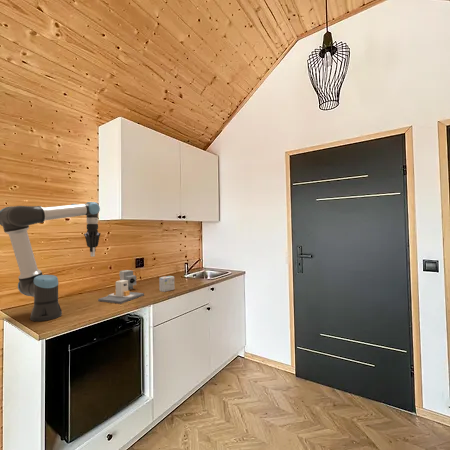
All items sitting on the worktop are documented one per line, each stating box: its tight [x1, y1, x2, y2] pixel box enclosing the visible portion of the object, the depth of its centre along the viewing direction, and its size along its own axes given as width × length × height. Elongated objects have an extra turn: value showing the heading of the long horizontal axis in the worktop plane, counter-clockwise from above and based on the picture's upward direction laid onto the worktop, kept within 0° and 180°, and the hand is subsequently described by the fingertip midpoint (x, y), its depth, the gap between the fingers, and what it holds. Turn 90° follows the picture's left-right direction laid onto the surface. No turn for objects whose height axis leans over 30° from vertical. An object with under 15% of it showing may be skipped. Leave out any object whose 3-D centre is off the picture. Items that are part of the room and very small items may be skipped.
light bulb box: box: [158, 275, 175, 293], centre depth 221 cm, size 11×7×11 cm, turn 141°
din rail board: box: [97, 289, 145, 305], centre depth 197 cm, size 24×20×5 cm
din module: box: [115, 279, 129, 296], centre depth 197 cm, size 7×6×10 cm
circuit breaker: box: [118, 269, 137, 291], centre depth 225 cm, size 8×14×15 cm, turn 53°
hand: (92, 256), depth 197 cm, fingers closed
